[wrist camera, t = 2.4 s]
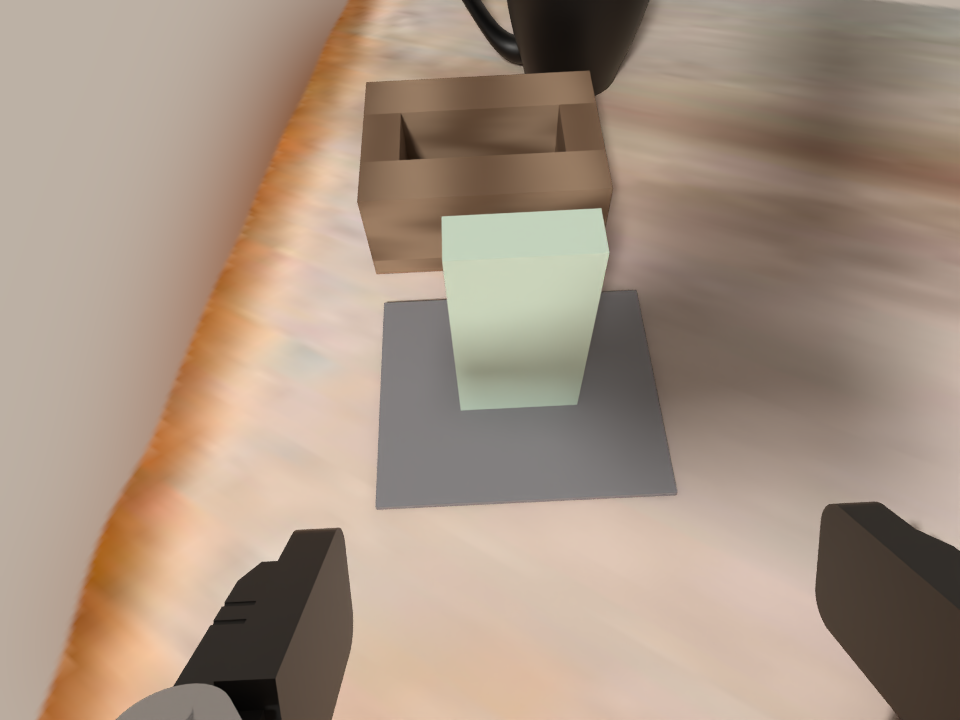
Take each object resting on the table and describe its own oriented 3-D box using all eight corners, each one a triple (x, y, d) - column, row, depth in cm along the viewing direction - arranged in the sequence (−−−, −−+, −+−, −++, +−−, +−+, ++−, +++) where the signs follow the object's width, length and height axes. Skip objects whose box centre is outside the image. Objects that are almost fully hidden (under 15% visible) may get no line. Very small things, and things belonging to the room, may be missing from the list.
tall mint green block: (572, 368, 29) (601, 208, 20) (577, 404, 28) (609, 253, 20) (459, 373, 29) (441, 216, 21) (460, 410, 28) (442, 261, 20)
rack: (579, 150, 37) (589, 70, 32) (598, 262, 32) (612, 188, 28) (382, 160, 37) (366, 82, 32) (376, 274, 33) (357, 201, 28)
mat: (635, 293, 31) (636, 290, 31) (675, 494, 26) (677, 492, 26) (385, 306, 31) (384, 302, 31) (376, 509, 26) (375, 507, 26)
